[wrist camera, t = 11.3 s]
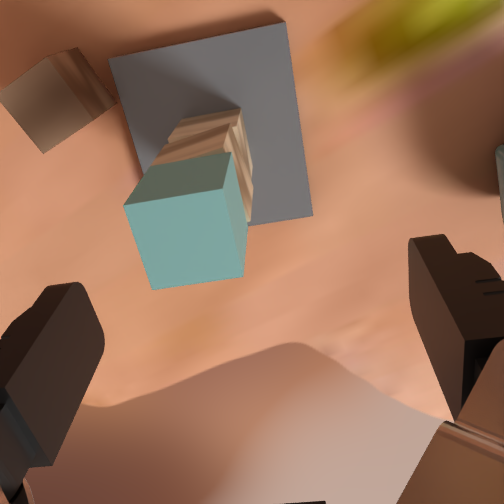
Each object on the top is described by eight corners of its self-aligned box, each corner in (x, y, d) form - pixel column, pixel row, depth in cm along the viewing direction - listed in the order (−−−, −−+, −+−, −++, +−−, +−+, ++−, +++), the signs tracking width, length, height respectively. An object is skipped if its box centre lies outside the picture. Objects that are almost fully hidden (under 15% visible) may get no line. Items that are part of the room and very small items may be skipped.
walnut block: (31, 81, 39) (-6, 95, 34) (77, 47, 38) (46, 56, 33) (72, 133, 41) (43, 154, 36) (116, 102, 40) (93, 120, 35)
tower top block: (164, 144, 34) (145, 172, 29) (230, 122, 33) (222, 147, 28) (191, 206, 36) (177, 242, 31) (253, 187, 35) (250, 221, 30)
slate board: (112, 57, 38) (107, 59, 37) (285, 21, 36) (285, 22, 35) (166, 233, 46) (163, 239, 45) (312, 210, 44) (313, 215, 43)
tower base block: (181, 119, 39) (167, 138, 34) (241, 107, 39) (236, 126, 33) (196, 176, 41) (185, 203, 36) (252, 166, 41) (250, 192, 36)
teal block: (150, 166, 29) (122, 205, 23) (231, 151, 28) (222, 188, 23) (172, 239, 31) (152, 290, 26) (247, 227, 30) (243, 276, 25)
